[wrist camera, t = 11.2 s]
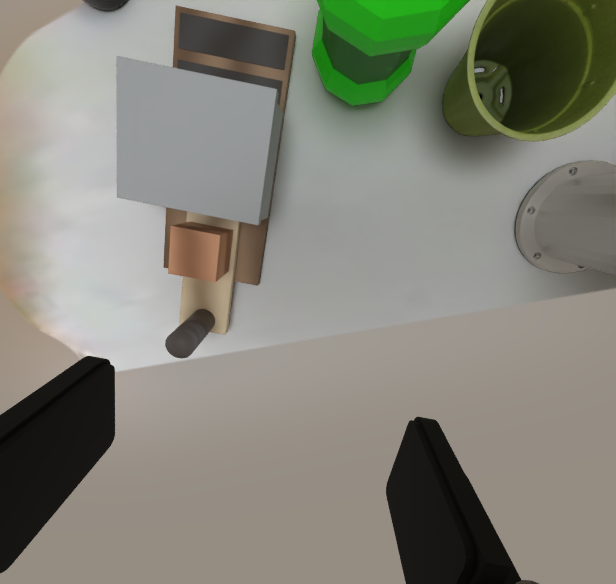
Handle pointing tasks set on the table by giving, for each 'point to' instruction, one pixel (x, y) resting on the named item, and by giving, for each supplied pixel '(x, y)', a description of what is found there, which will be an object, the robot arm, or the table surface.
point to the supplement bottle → (105, 4)
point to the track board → (240, 67)
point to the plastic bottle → (374, 43)
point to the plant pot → (534, 69)
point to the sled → (202, 278)
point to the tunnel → (195, 141)
